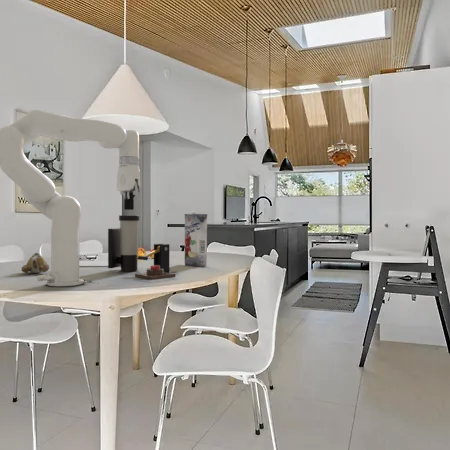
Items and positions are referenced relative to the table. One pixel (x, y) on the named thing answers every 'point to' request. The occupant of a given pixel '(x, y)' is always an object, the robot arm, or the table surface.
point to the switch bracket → (162, 257)
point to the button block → (155, 274)
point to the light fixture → (124, 244)
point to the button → (155, 267)
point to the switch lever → (149, 254)
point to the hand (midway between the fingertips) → (129, 209)
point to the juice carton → (195, 239)
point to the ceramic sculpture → (36, 264)
